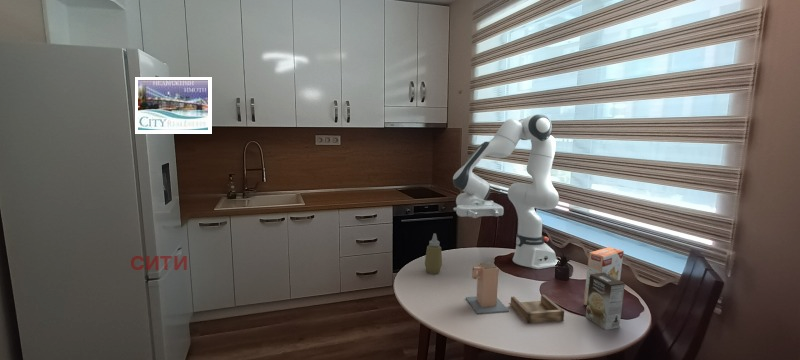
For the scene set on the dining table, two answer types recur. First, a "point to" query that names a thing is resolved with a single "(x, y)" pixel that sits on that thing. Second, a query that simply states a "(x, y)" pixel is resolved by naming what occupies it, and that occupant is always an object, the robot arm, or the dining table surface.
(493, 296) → the jug
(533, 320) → the tray
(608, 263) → the cracker box
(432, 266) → the squeeze bottle
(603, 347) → the dining table surface
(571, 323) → the dining table surface
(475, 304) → the coaster
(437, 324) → the dining table surface
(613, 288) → the coffee box
